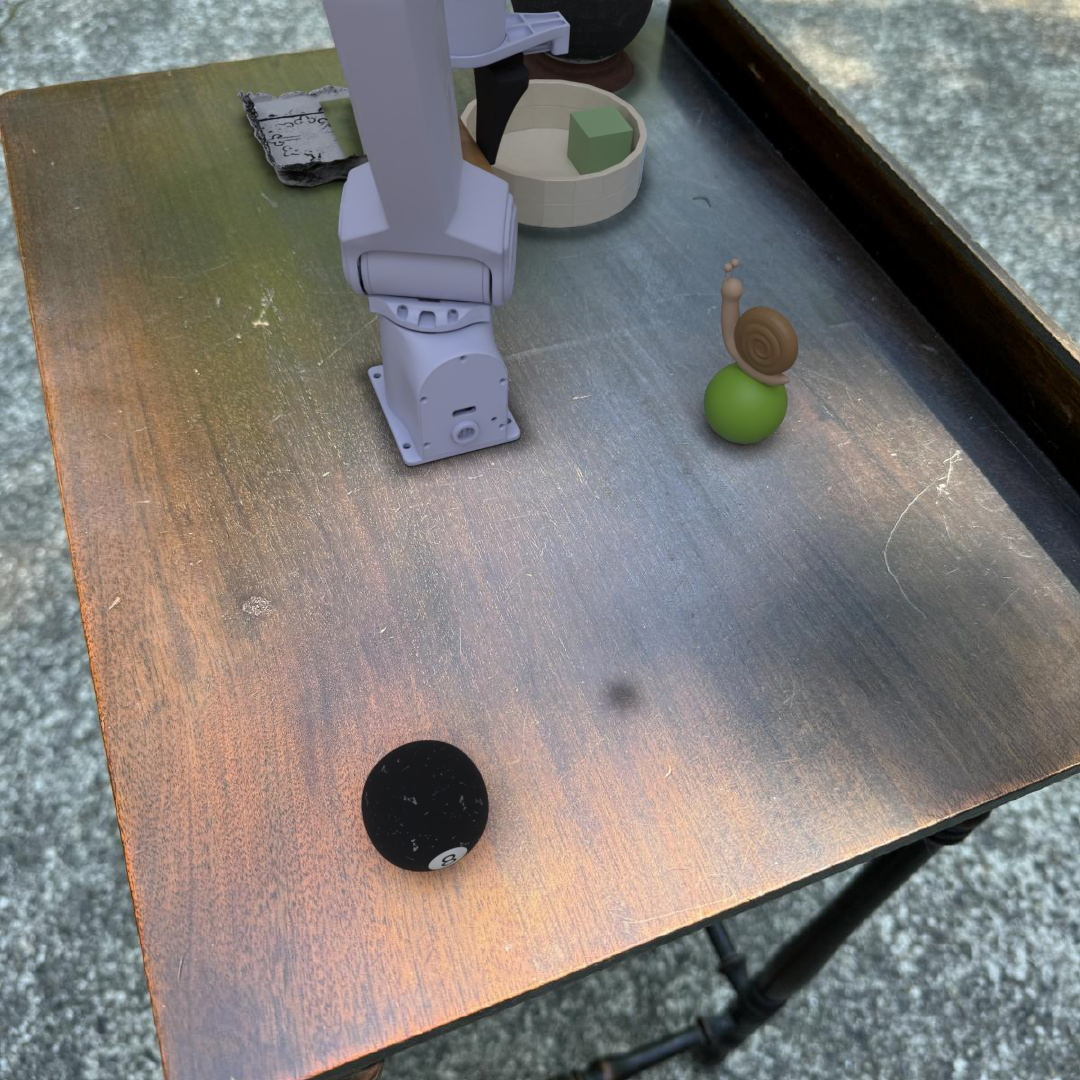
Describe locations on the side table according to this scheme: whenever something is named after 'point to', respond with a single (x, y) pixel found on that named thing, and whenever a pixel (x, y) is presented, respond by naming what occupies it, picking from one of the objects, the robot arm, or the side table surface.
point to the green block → (598, 139)
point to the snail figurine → (750, 369)
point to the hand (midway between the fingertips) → (463, 162)
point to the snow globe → (589, 41)
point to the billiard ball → (424, 805)
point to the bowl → (562, 157)
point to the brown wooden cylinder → (472, 149)
